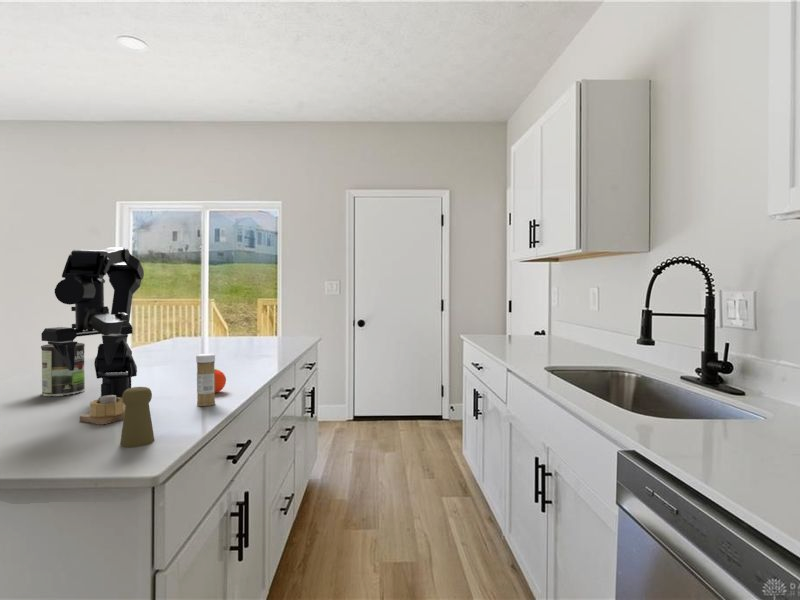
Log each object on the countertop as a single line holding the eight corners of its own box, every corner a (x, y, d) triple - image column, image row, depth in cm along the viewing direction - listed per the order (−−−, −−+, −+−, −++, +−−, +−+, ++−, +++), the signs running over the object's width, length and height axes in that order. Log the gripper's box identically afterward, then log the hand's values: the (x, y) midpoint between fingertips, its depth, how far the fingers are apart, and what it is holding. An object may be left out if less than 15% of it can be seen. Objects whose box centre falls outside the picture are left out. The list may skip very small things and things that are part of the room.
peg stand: (112, 412, 114) (112, 391, 114) (135, 416, 111) (135, 394, 111) (79, 421, 106) (79, 398, 106) (103, 425, 103) (103, 402, 103)
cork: (130, 449, 88) (129, 392, 88) (113, 443, 91) (113, 388, 91) (160, 440, 93) (160, 386, 93) (144, 435, 97) (143, 383, 96)
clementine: (200, 390, 139) (200, 367, 139) (224, 388, 142) (224, 365, 142) (201, 396, 132) (201, 371, 131) (227, 394, 134) (226, 369, 134)
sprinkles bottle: (215, 402, 125) (215, 352, 125) (214, 406, 121) (214, 355, 120) (197, 403, 123) (196, 353, 123) (195, 407, 119) (195, 355, 119)
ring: (112, 408, 113) (112, 396, 113) (132, 411, 111) (132, 399, 110) (83, 415, 107) (83, 402, 107) (104, 419, 104) (104, 405, 104)
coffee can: (93, 389, 140) (92, 342, 139) (68, 397, 129) (67, 347, 129) (59, 388, 140) (59, 342, 139) (32, 396, 129) (31, 346, 129)
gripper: (74, 305, 99) (75, 377, 99) (148, 301, 116) (149, 363, 117) (39, 303, 102) (40, 373, 103) (116, 300, 120) (117, 360, 121)
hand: (90, 367), depth 111 cm, fingers open, 9 cm apart
